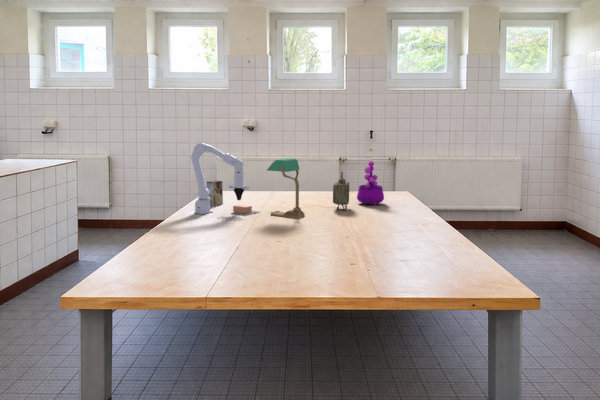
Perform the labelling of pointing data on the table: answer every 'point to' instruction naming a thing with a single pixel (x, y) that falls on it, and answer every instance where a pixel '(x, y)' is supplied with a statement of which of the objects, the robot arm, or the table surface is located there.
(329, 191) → the table surface
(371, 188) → the decorative plant
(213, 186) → the coffee box
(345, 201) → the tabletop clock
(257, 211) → the mat
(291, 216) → the banker's lamp
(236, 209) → the block
